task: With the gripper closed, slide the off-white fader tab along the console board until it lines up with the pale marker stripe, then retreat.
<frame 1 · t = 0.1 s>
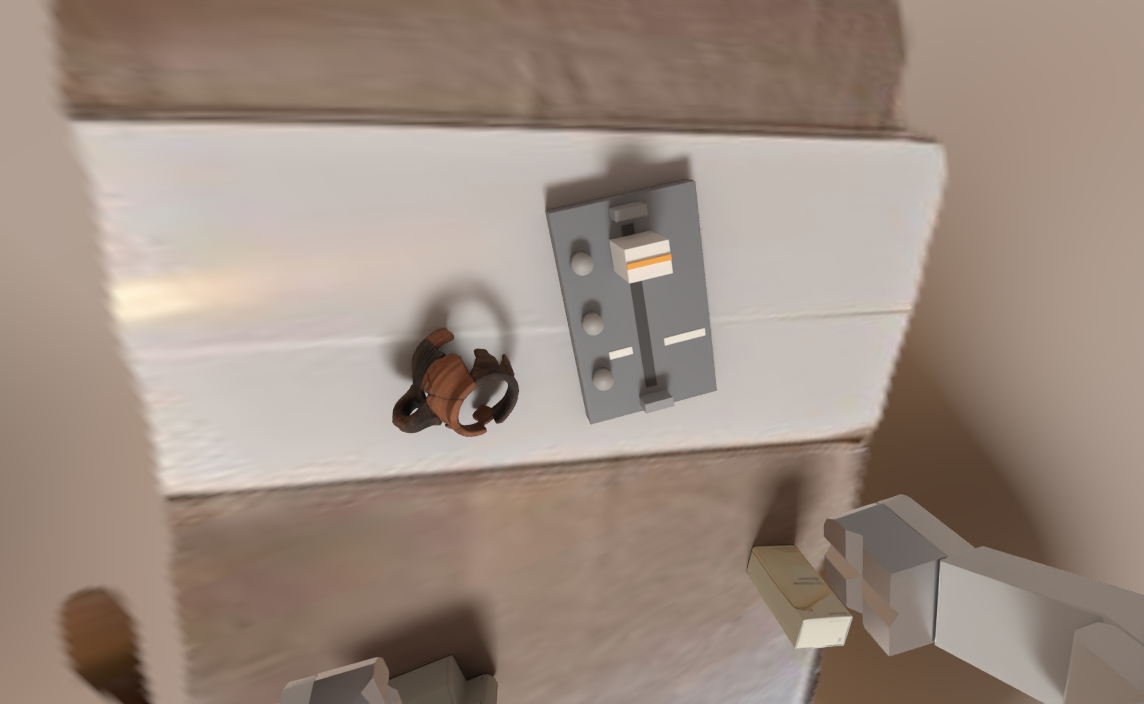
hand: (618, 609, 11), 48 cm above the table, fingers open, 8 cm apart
fader tab: (640, 256, 54), point 5 cm above the table, slide at 0.0 cm
console: (633, 304, 60), on the table
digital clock: (429, 688, 73), on the table
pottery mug: (451, 376, 59), on the table
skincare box: (768, 558, 76), on the table
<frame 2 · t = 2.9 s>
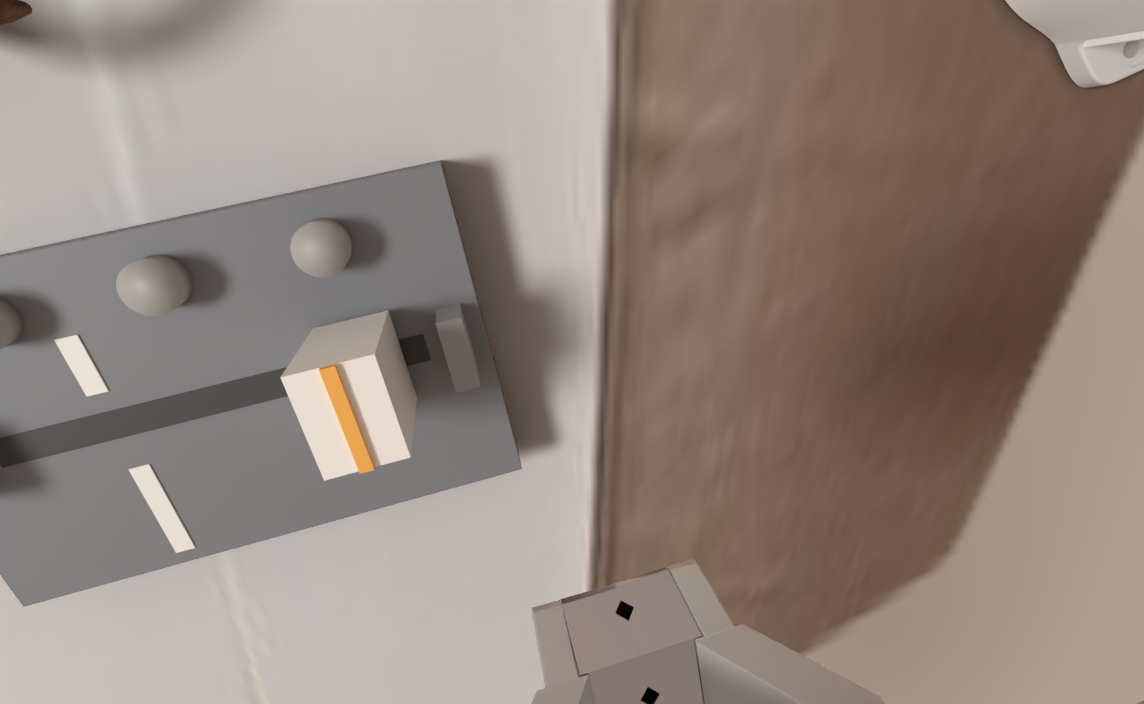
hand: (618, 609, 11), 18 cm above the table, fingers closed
fader tab: (358, 390, 22), point 5 cm above the table, slide at 0.0 cm
console: (235, 379, 26), on the table
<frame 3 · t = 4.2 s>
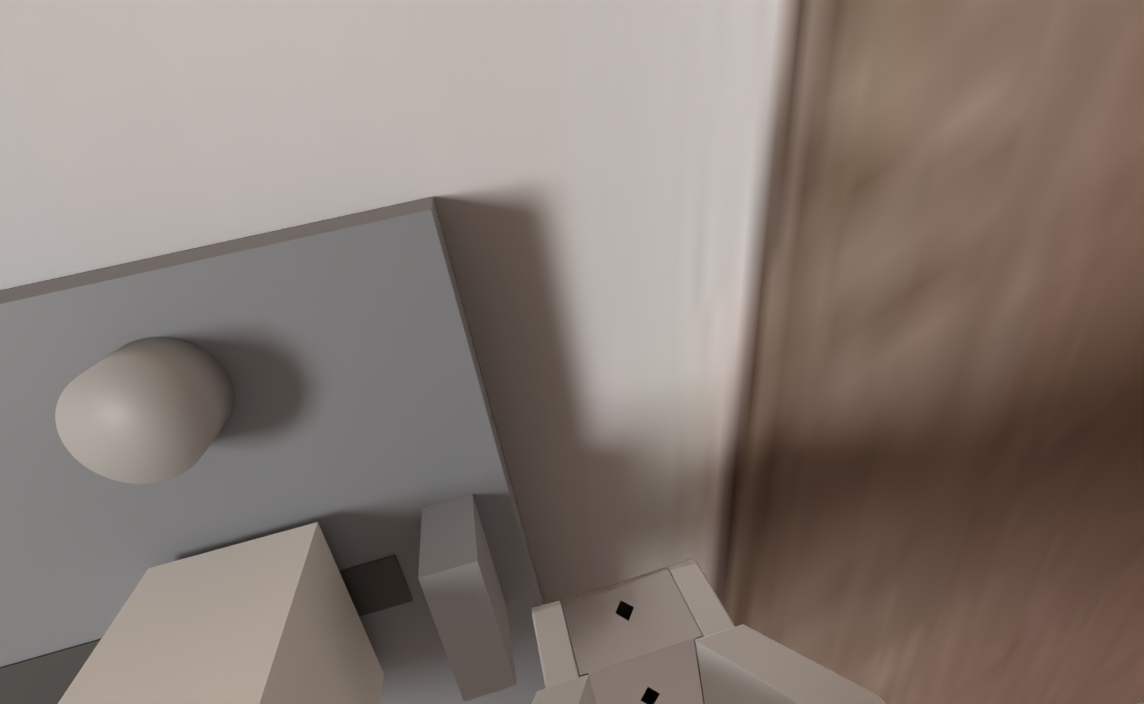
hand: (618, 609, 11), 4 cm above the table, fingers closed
console: (23, 625, 13), on the table
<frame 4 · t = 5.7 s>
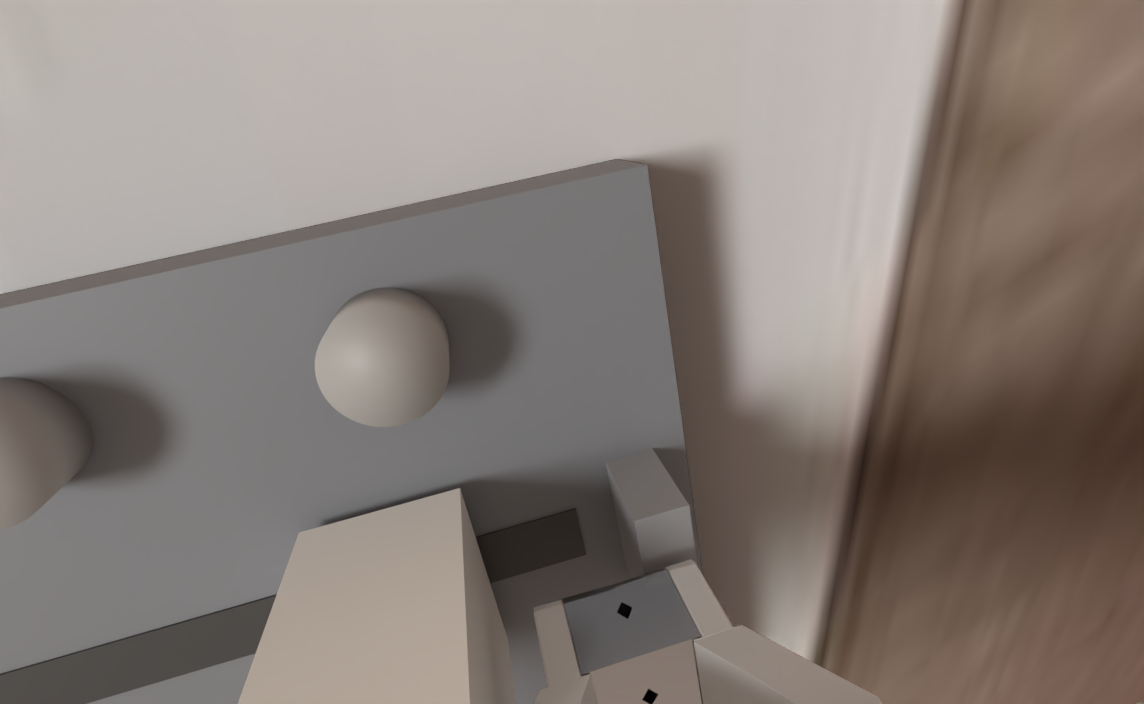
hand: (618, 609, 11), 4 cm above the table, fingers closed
console: (198, 582, 13), on the table
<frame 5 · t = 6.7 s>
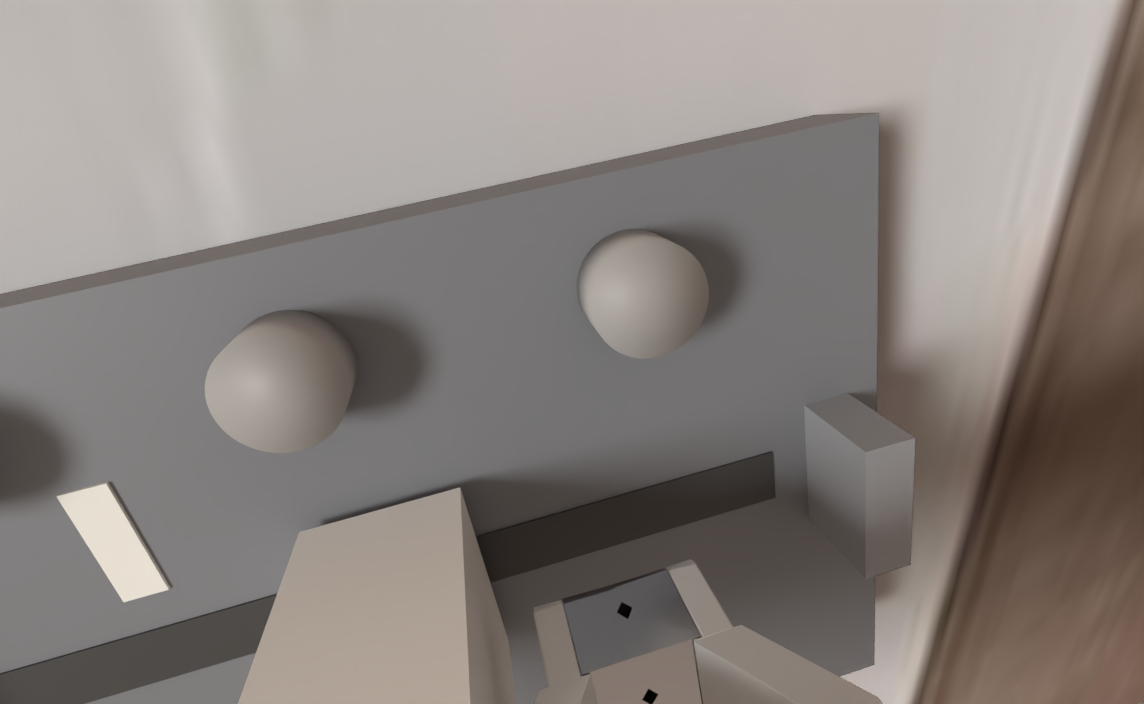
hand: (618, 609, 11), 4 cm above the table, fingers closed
console: (393, 527, 14), on the table
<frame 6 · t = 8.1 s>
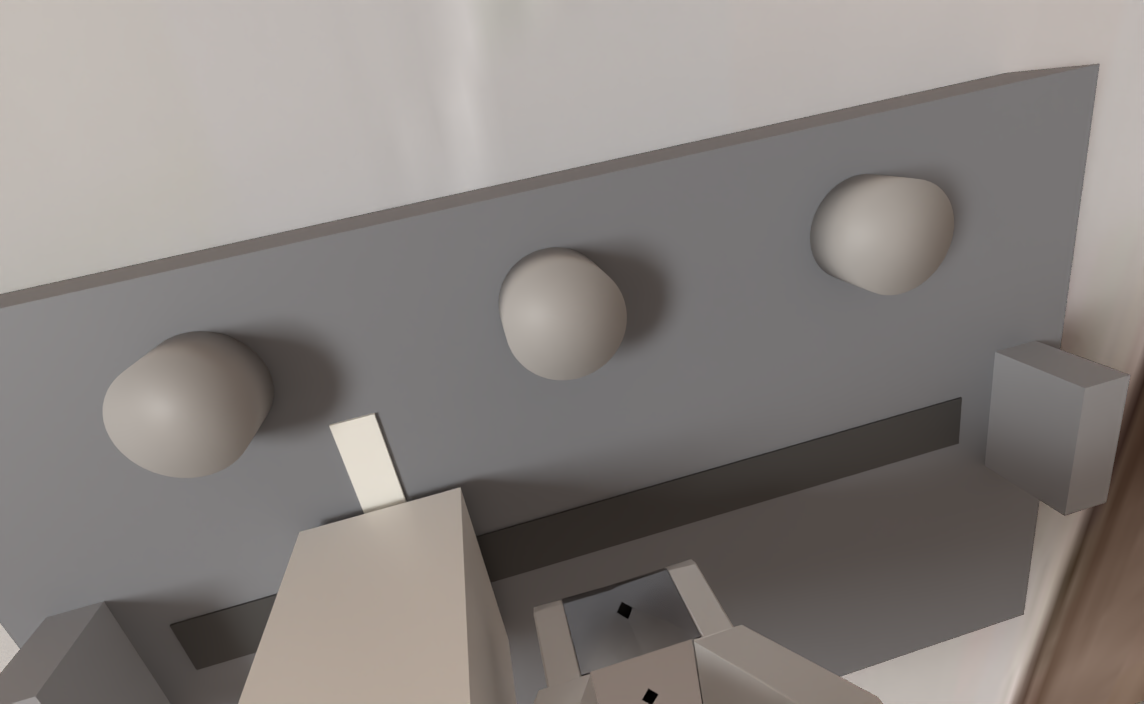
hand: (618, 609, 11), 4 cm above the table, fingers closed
console: (581, 474, 14), on the table
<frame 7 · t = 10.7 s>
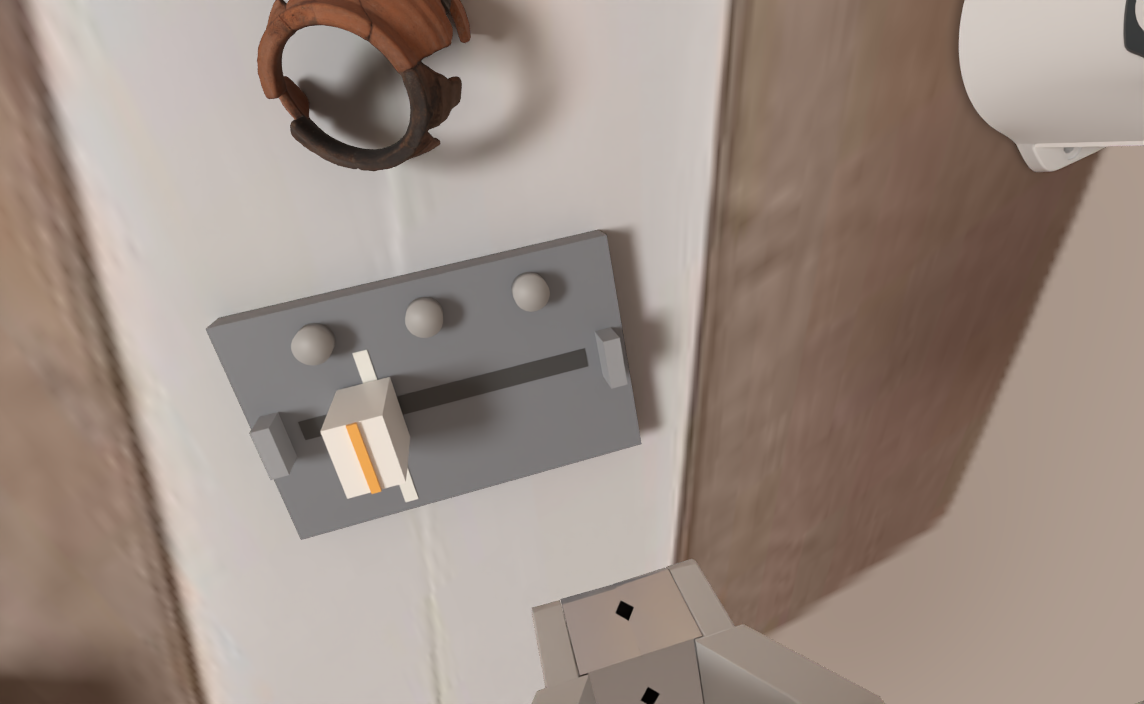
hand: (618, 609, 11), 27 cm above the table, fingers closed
fader tab: (369, 435, 32), point 5 cm above the table, slide at 10.3 cm
console: (447, 380, 37), on the table
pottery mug: (367, 37, 30), on the table
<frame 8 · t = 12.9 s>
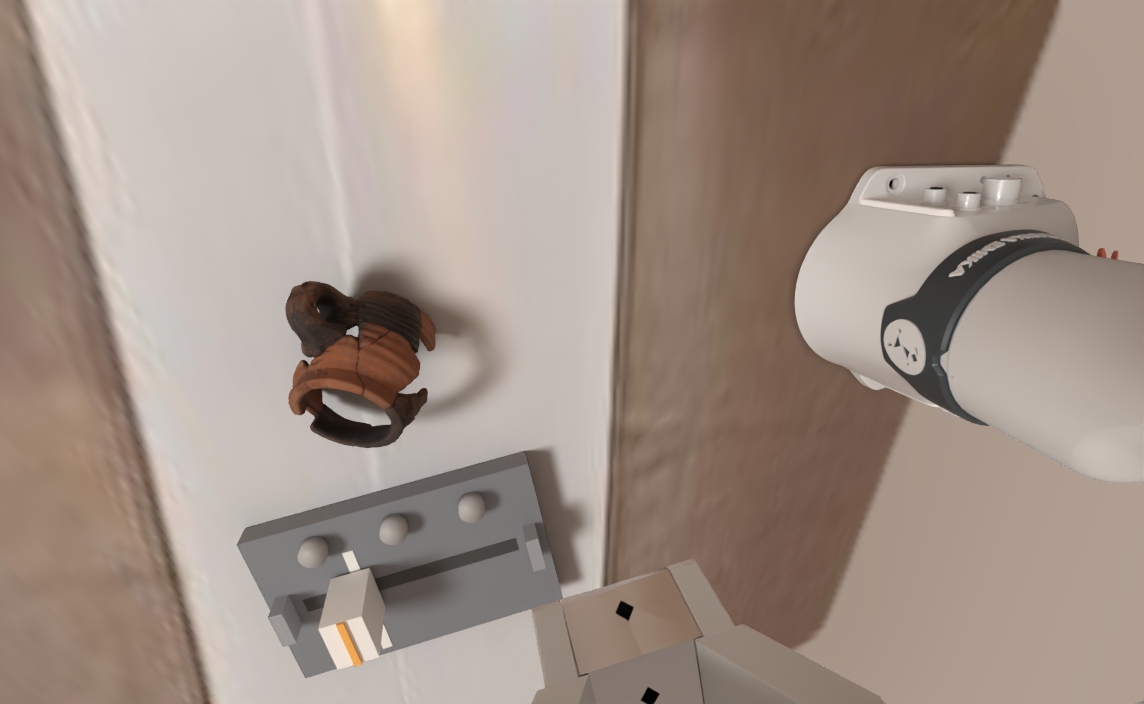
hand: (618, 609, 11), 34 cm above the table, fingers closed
fader tab: (354, 617, 44), point 5 cm above the table, slide at 10.3 cm
console: (414, 557, 49), on the table
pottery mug: (362, 341, 43), on the table
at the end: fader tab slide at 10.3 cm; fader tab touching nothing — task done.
